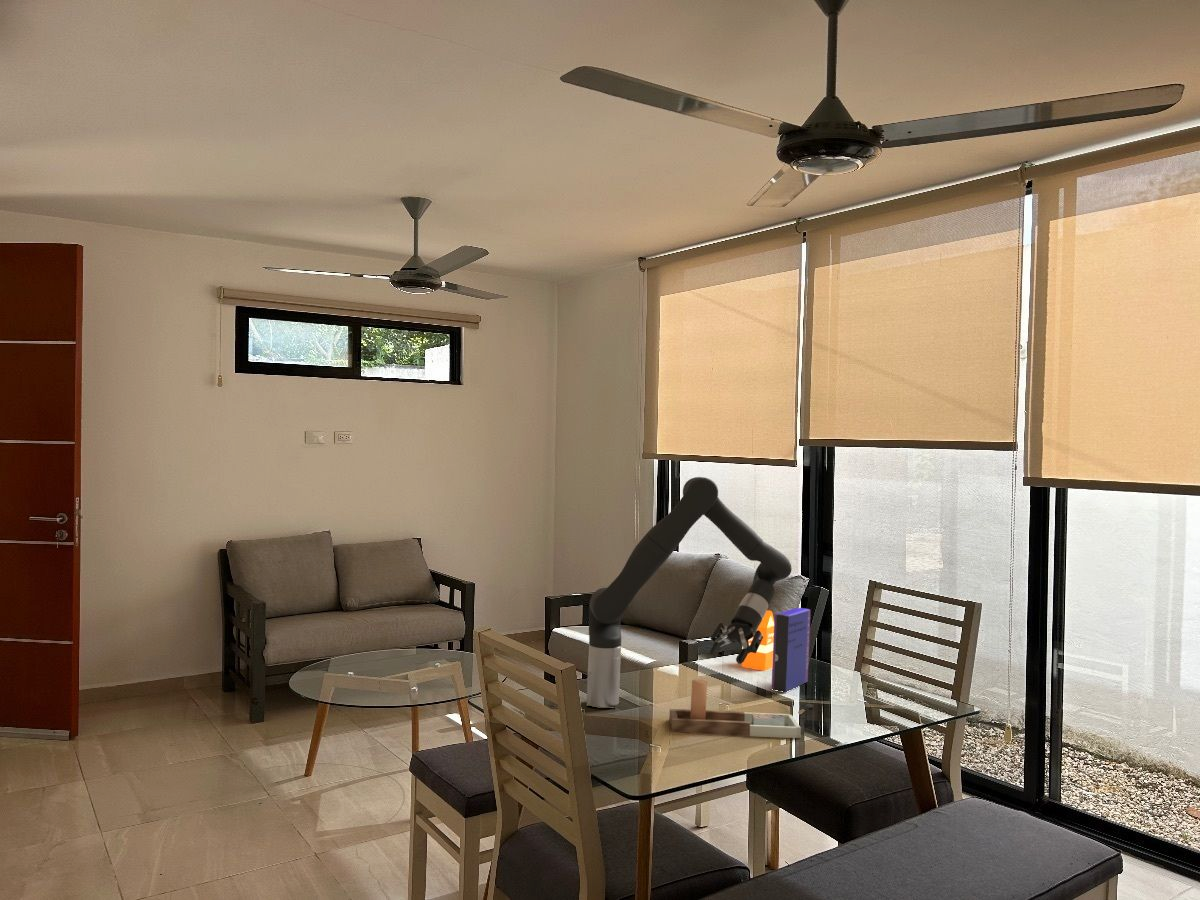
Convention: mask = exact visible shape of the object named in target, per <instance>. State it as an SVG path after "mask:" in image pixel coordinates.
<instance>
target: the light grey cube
mask: <svg viewBox="0 0 1200 900" xmlns="http://www.w3.org/2000/svg"><path fill="white" fill-rule="evenodd" d="M751 713H752V724H751V725H769V717H768V715H767V714H755V713H756V712H751Z"/></svg>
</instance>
